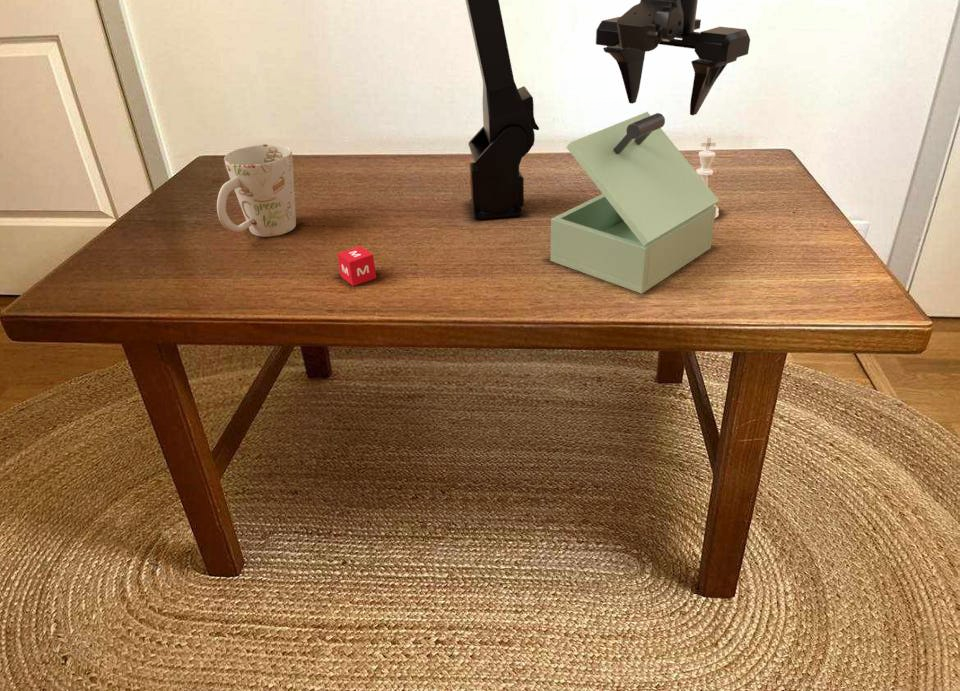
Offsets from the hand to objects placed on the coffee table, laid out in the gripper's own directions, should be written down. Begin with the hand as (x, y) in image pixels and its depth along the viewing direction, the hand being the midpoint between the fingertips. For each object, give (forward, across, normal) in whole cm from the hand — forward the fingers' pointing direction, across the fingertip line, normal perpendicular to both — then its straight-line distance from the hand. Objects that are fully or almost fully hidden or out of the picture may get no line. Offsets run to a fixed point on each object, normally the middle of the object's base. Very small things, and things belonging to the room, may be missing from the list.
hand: (661, 108), depth 94 cm
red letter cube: (+13, -12, -42) cm, 45 cm away
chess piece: (+12, +8, -1) cm, 15 cm away
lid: (+2, +9, -17) cm, 20 cm away
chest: (+12, +8, -17) cm, 23 cm away
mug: (+13, -32, -43) cm, 55 cm away
